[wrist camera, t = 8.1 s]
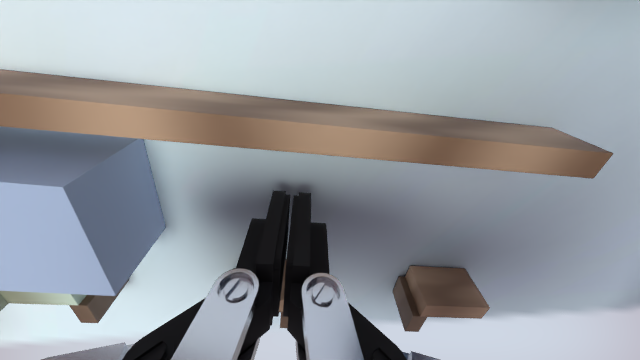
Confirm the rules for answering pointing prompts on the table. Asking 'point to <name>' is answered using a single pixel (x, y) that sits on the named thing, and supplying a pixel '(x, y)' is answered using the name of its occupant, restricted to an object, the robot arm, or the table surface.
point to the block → (74, 211)
